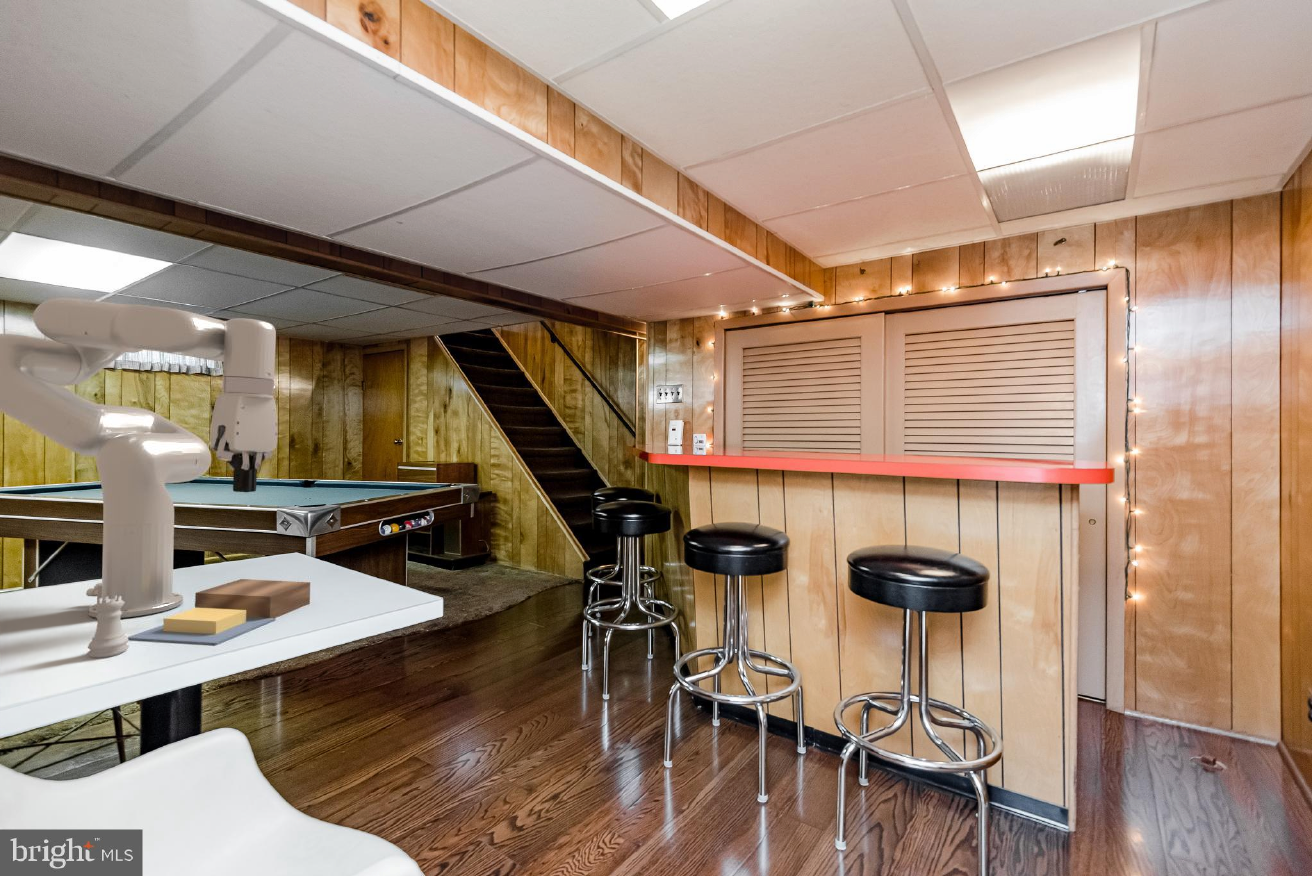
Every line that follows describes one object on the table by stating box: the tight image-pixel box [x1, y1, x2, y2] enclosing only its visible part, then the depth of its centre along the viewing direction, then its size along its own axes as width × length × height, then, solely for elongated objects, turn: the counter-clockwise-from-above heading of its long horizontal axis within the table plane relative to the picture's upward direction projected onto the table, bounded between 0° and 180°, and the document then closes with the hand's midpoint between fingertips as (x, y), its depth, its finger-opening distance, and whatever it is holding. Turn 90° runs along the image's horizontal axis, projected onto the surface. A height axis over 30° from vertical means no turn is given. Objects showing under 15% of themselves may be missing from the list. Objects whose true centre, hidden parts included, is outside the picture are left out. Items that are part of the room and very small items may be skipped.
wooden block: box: [194, 578, 311, 618], centre depth 105 cm, size 14×10×4 cm
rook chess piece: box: [86, 596, 130, 659], centre depth 83 cm, size 4×4×8 cm
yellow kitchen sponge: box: [162, 607, 246, 634], centre depth 95 cm, size 9×6×2 cm, turn 85°
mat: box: [127, 617, 277, 646], centre depth 94 cm, size 15×12×1 cm
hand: (244, 491), depth 103 cm, fingers closed
